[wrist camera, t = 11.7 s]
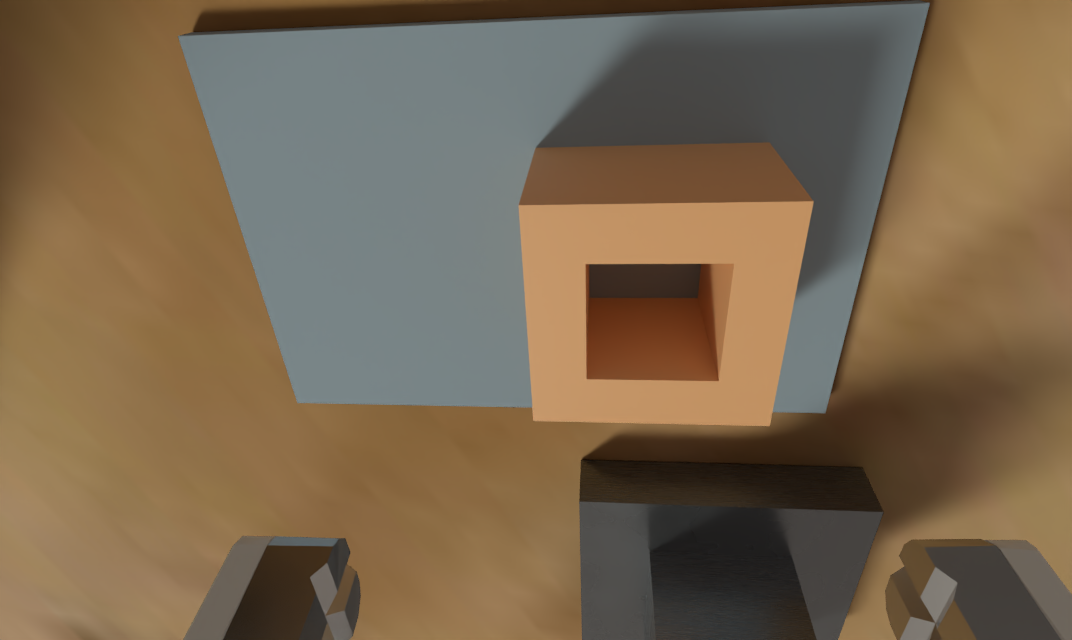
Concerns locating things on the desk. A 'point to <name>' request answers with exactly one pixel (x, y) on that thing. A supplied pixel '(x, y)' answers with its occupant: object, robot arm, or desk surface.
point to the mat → (502, 167)
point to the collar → (660, 323)
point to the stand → (721, 549)
